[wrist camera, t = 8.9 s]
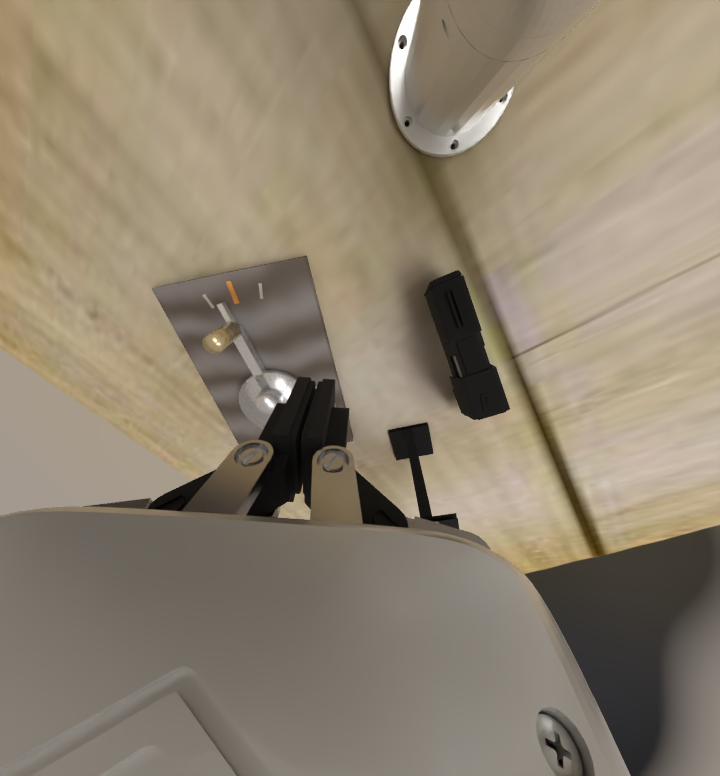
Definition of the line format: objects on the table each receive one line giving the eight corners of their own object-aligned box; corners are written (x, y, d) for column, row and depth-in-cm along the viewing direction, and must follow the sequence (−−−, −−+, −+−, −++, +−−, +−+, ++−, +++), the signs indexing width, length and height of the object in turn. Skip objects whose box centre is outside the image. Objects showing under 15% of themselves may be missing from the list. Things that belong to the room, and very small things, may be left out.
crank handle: (322, 419, 47) (316, 447, 41) (262, 433, 49) (248, 462, 43) (261, 288, 36) (239, 301, 30) (187, 314, 38) (151, 330, 32)
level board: (159, 286, 38) (138, 292, 34) (306, 255, 35) (300, 258, 32) (247, 449, 54) (239, 463, 50) (353, 435, 51) (352, 450, 48)
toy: (456, 415, 46) (478, 444, 31) (418, 306, 45) (422, 283, 30) (487, 405, 45) (524, 431, 30) (448, 293, 44) (468, 263, 29)
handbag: (433, 455, 54) (495, 663, 28) (397, 462, 55) (424, 667, 29) (426, 415, 48) (493, 625, 23) (386, 423, 50) (407, 632, 24)
